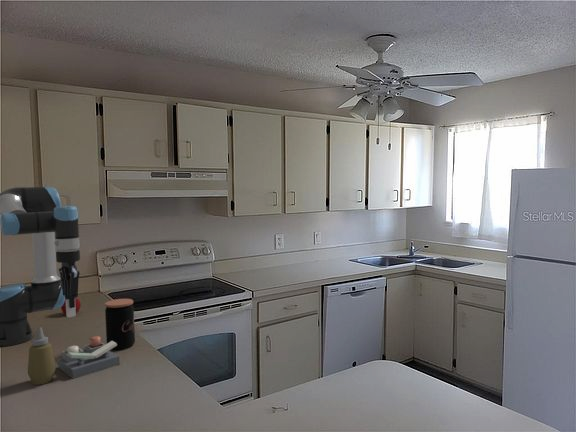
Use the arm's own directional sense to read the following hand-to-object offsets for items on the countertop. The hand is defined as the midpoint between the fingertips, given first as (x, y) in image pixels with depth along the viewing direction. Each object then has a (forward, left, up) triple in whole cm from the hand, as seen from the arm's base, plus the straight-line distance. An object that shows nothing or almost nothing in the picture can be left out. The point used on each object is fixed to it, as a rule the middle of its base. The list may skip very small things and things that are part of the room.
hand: (71, 316), depth 155 cm
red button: (0, +8, -13) cm, 16 cm away
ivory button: (0, 0, -15) cm, 15 cm away
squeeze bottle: (+4, -12, -19) cm, 22 cm away
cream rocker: (+7, +9, -13) cm, 17 cm away
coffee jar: (-8, +21, -19) cm, 29 cm away
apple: (-73, +25, -19) cm, 79 cm away
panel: (+3, +4, -18) cm, 19 cm away
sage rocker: (+7, 0, -13) cm, 15 cm away
